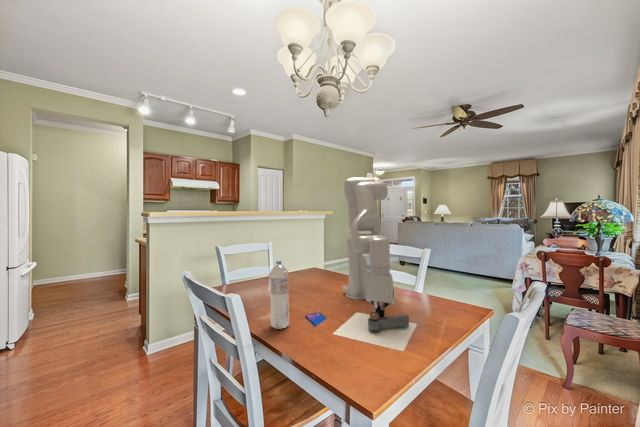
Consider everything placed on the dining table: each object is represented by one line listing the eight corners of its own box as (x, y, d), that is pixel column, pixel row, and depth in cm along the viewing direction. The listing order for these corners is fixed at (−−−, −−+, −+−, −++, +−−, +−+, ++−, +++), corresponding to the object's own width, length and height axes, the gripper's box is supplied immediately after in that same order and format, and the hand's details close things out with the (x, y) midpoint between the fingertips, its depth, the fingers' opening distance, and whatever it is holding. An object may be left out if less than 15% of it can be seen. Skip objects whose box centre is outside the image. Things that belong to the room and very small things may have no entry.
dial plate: (332, 338, 93) (332, 333, 93) (356, 315, 112) (356, 311, 112) (403, 356, 81) (403, 350, 81) (417, 327, 100) (417, 323, 100)
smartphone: (318, 330, 99) (304, 314, 112) (318, 332, 99) (304, 317, 112) (336, 326, 102) (320, 312, 115) (336, 328, 102) (320, 314, 115)
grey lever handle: (371, 333, 92) (371, 317, 92) (366, 327, 96) (365, 312, 96) (411, 328, 95) (410, 312, 95) (404, 322, 100) (404, 307, 100)
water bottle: (274, 331, 98) (272, 263, 98) (268, 324, 104) (267, 260, 104) (291, 327, 102) (290, 261, 101) (285, 321, 108) (284, 258, 107)
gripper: (357, 270, 102) (357, 318, 102) (397, 274, 94) (397, 326, 95) (364, 266, 108) (364, 311, 109) (402, 270, 101) (402, 318, 101)
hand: (380, 318), depth 102 cm, fingers closed
